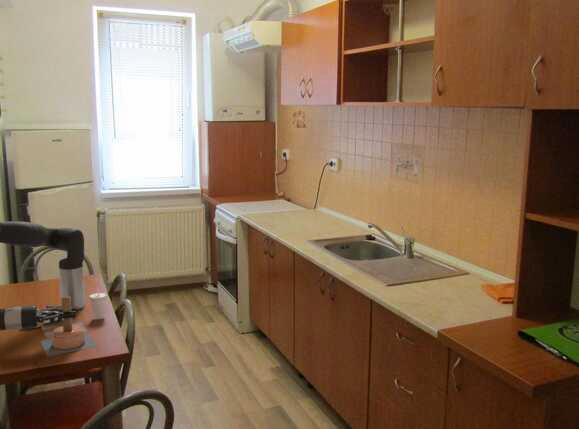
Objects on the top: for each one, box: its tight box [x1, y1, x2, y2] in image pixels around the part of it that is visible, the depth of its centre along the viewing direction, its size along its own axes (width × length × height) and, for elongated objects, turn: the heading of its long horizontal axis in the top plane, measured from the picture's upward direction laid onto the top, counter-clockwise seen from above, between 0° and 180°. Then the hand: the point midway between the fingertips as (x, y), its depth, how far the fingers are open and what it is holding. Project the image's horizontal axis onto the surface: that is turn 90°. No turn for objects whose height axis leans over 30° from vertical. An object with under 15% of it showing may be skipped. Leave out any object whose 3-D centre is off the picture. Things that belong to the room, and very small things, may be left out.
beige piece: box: [34, 308, 44, 329], centre depth 213 cm, size 10×9×6 cm
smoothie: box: [89, 283, 108, 320], centre depth 219 cm, size 6×6×14 cm
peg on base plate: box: [51, 296, 86, 349], centre depth 193 cm, size 10×10×17 cm
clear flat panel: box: [40, 319, 89, 340], centre depth 208 cm, size 14×14×1 cm
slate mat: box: [40, 332, 98, 357], centre depth 195 cm, size 15×16×1 cm
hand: (75, 312), depth 194 cm, fingers closed on peg on base plate, 3 cm apart
